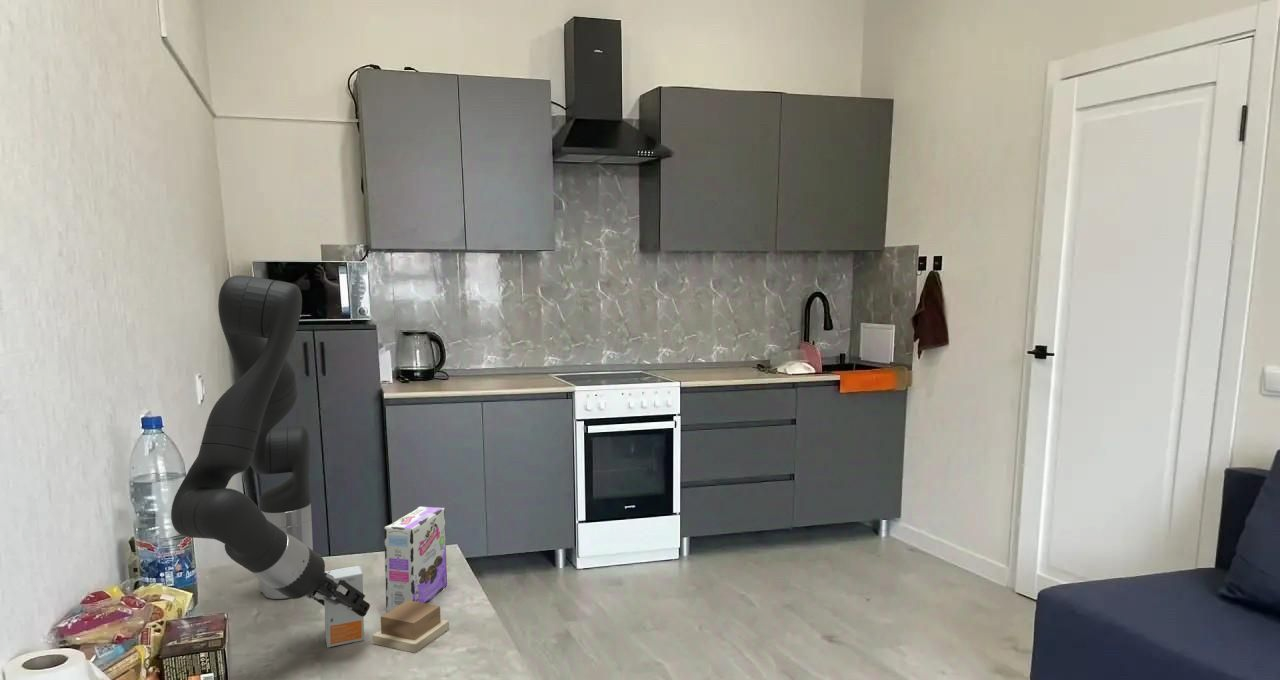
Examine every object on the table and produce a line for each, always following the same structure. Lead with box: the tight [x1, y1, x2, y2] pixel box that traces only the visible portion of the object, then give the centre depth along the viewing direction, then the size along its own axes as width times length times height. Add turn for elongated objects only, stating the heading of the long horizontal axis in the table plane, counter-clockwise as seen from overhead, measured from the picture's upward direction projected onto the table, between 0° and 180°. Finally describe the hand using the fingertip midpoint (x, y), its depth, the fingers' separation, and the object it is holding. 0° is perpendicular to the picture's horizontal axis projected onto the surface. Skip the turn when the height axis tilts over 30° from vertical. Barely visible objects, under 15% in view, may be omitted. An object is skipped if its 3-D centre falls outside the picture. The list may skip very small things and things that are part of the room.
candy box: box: [383, 506, 448, 613], centre depth 141 cm, size 14×6×16 cm, turn 168°
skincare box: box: [324, 565, 365, 648], centre depth 124 cm, size 6×4×12 cm
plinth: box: [371, 600, 450, 654], centre depth 126 cm, size 9×9×4 cm
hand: (348, 606), depth 125 cm, fingers open, 8 cm apart
